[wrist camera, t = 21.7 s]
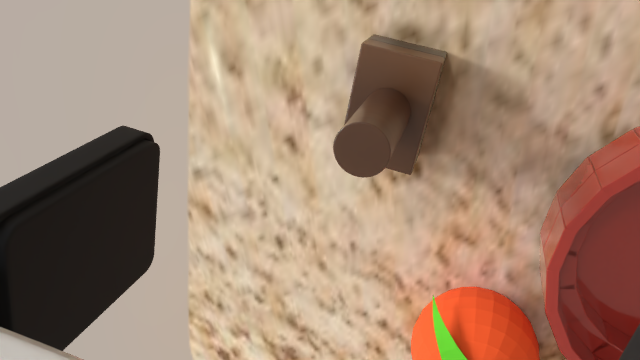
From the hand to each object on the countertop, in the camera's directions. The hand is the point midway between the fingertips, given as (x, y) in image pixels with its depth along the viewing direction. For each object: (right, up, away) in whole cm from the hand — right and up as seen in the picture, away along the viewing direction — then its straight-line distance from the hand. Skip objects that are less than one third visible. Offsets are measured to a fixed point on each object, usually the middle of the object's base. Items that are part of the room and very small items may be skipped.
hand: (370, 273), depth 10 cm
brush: (+3, +6, +20) cm, 21 cm away
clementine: (+8, -6, +24) cm, 26 cm away
